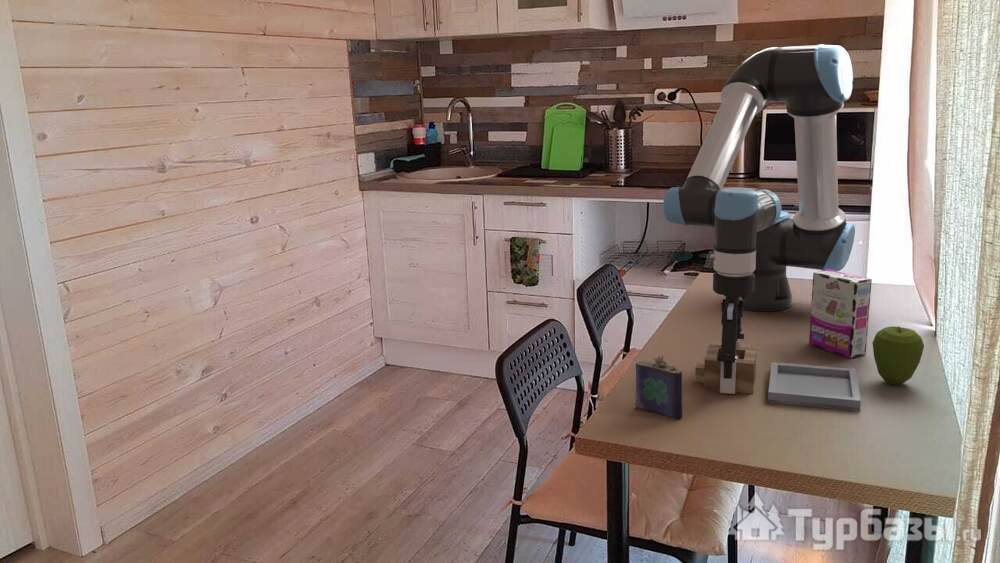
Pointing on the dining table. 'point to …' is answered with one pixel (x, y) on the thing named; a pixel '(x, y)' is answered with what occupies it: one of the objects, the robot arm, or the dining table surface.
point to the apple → (897, 353)
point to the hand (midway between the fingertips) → (729, 381)
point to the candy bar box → (840, 312)
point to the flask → (659, 389)
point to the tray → (814, 386)
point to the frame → (744, 369)
